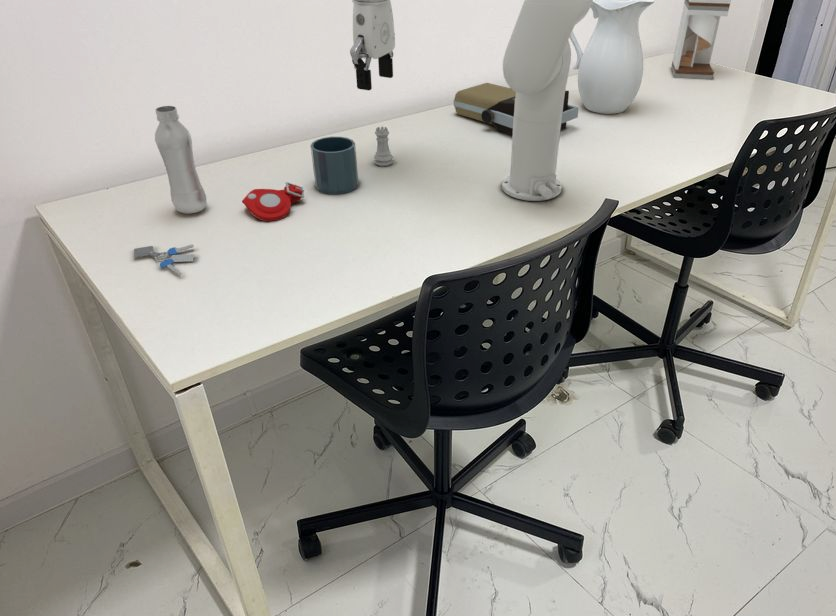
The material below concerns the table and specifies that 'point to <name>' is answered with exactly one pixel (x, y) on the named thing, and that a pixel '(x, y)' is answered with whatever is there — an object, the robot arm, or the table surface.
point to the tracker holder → (272, 201)
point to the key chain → (172, 251)
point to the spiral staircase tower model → (697, 38)
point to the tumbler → (334, 165)
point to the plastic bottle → (179, 161)
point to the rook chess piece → (382, 148)
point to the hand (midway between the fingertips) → (375, 82)
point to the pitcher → (611, 57)
